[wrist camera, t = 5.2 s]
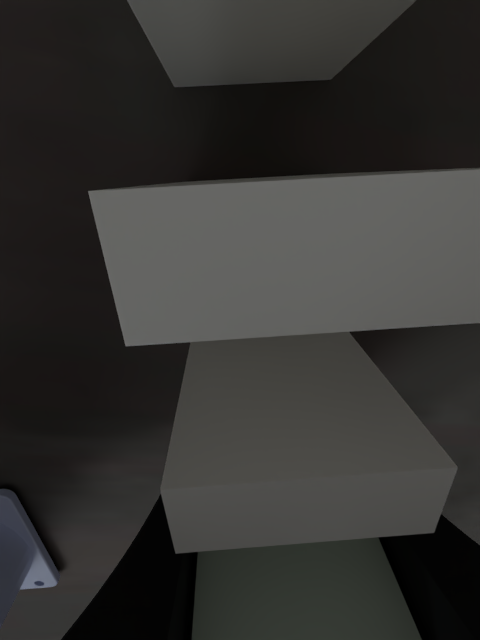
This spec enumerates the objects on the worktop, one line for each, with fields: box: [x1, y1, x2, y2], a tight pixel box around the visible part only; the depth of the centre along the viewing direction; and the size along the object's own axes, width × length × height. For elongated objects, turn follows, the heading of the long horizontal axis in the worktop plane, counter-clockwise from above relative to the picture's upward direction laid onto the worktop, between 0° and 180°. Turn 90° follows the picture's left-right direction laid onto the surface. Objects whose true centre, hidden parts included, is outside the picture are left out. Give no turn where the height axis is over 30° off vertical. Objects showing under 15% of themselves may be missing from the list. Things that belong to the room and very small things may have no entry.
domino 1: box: [88, 168, 480, 346], centre depth 6 cm, size 4×2×8 cm, turn 93°
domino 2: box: [160, 332, 458, 554], centre depth 8 cm, size 4×2×8 cm, turn 93°
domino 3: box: [192, 537, 422, 640], centre depth 9 cm, size 4×2×8 cm, turn 93°
